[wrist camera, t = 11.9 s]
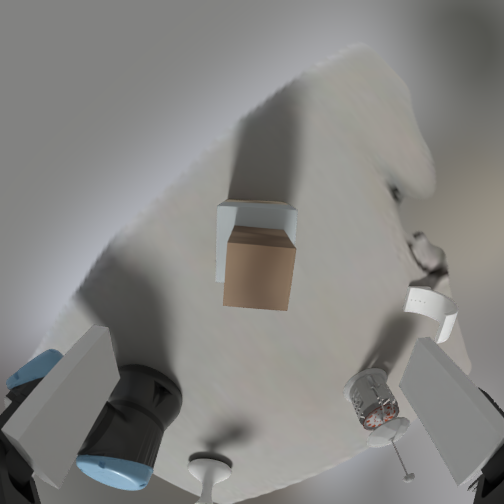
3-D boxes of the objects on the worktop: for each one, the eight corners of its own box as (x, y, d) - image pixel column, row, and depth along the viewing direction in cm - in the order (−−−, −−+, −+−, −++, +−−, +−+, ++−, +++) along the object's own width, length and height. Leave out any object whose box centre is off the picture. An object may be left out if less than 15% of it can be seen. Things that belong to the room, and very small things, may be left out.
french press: (343, 407, 49) (376, 503, 25) (341, 369, 46) (385, 477, 22) (385, 394, 48) (430, 480, 24) (389, 354, 46) (449, 447, 21)
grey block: (221, 265, 35) (215, 282, 29) (223, 201, 33) (217, 205, 27) (285, 268, 35) (291, 285, 29) (289, 205, 33) (297, 209, 27)
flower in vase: (190, 471, 56) (178, 543, 32) (186, 452, 53) (170, 533, 29) (237, 476, 56) (234, 549, 32) (239, 457, 54) (235, 541, 29)
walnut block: (230, 272, 29) (223, 305, 21) (234, 225, 28) (227, 242, 20) (278, 276, 29) (287, 310, 21) (284, 229, 28) (296, 248, 20)
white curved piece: (408, 285, 42) (446, 315, 31) (433, 286, 42) (471, 313, 31) (402, 309, 43) (436, 343, 32) (426, 309, 43) (462, 339, 32)
